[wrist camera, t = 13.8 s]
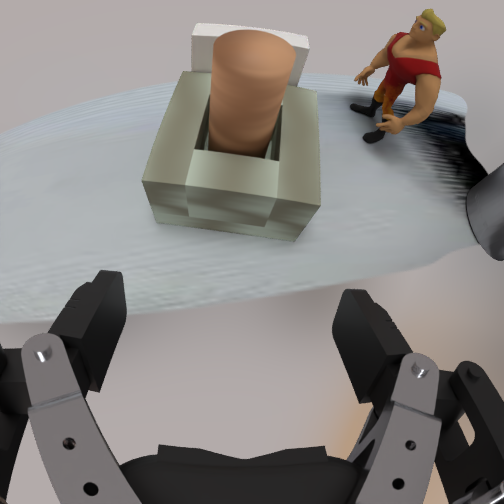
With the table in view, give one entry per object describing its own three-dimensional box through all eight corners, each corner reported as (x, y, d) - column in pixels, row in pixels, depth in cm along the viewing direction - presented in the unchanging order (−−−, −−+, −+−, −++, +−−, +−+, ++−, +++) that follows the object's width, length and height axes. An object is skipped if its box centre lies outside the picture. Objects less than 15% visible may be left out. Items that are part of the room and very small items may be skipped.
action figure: (339, 91, 28) (391, -20, 14) (366, 96, 29) (423, -6, 15) (366, 160, 25) (454, 37, 11) (396, 162, 26) (485, 55, 12)
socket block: (296, 139, 25) (316, 91, 20) (293, 242, 22) (320, 205, 16) (185, 122, 24) (182, 71, 19) (157, 224, 21) (141, 180, 15)
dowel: (262, 143, 22) (292, 35, 13) (262, 187, 21) (299, 75, 12) (210, 139, 22) (217, 26, 12) (205, 182, 20) (208, 65, 11)
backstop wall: (282, 113, 26) (306, 36, 17) (282, 128, 25) (309, 49, 17) (195, 105, 25) (196, 23, 16) (192, 120, 24) (191, 35, 16)
